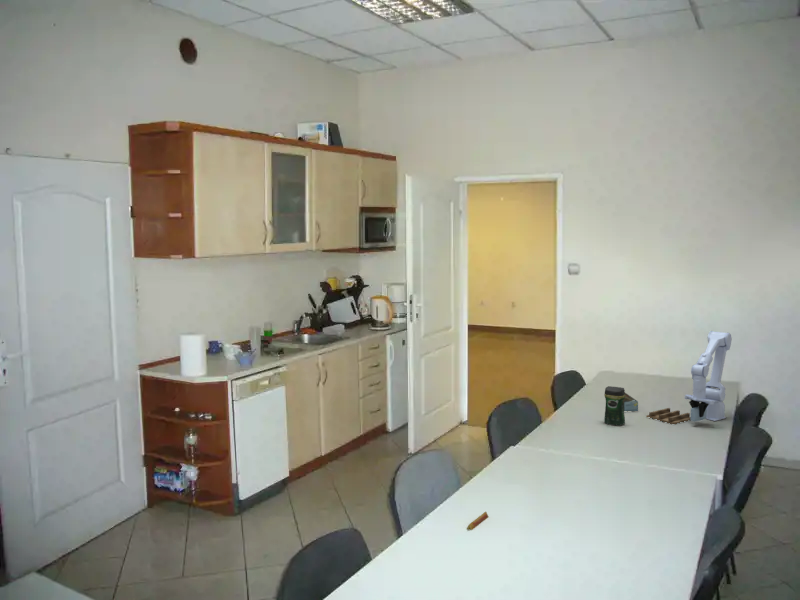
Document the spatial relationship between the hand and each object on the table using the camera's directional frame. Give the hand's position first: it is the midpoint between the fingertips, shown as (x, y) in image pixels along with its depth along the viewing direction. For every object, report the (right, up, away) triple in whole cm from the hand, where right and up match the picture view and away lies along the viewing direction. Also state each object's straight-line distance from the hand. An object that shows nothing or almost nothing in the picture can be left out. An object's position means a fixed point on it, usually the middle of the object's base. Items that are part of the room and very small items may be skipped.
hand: (698, 416), depth 335 cm
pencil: (-120, -19, -105) cm, 160 cm away
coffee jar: (-40, -5, +5) cm, 40 cm away
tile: (0, -2, 0) cm, 2 cm away
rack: (-10, -3, +12) cm, 16 cm away
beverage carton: (-25, -2, +35) cm, 43 cm away
